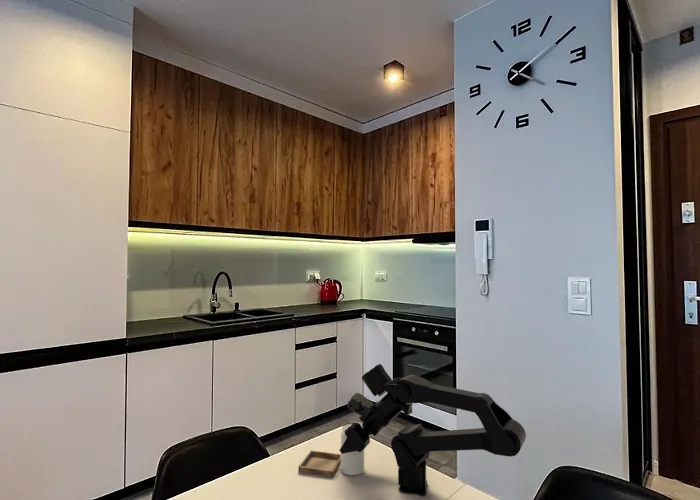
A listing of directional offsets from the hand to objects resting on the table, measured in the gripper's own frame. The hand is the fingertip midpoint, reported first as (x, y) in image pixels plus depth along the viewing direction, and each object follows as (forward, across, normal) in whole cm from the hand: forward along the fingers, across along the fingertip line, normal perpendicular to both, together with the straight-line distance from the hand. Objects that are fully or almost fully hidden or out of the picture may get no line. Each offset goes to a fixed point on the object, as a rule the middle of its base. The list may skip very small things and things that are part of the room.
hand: (347, 444), depth 106 cm
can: (+4, 0, +6) cm, 7 cm away
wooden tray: (+10, +2, -1) cm, 10 cm away
